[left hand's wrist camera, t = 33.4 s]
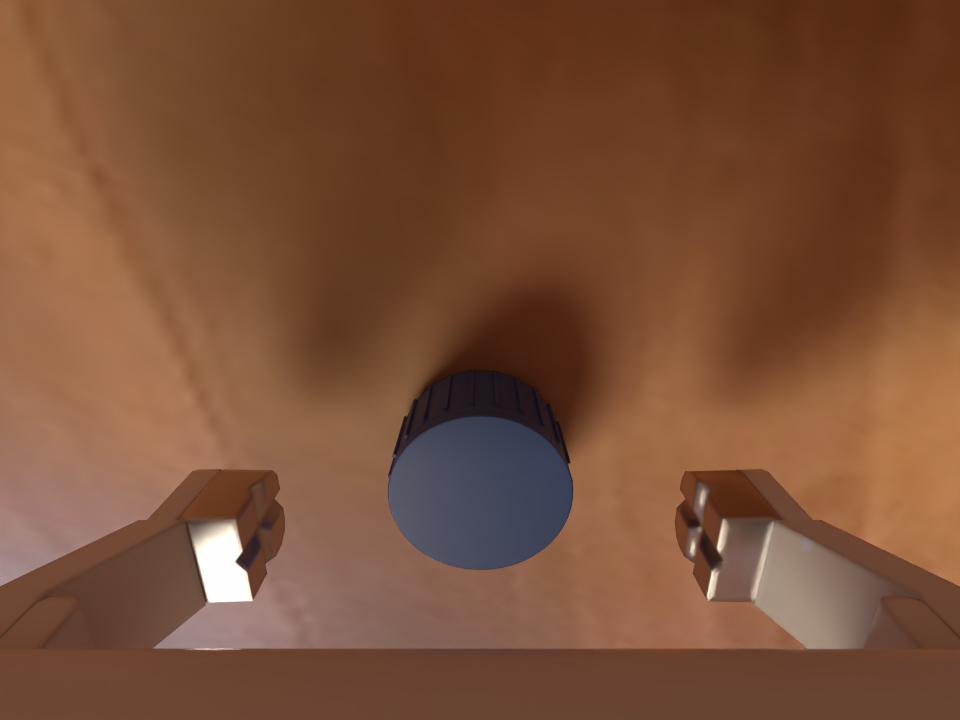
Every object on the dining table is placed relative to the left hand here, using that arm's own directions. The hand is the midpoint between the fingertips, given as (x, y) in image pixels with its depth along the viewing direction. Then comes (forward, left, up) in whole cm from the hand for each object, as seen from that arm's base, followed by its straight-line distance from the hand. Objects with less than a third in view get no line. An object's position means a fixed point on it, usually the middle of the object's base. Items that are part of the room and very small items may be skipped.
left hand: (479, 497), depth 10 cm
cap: (0, 0, 0) cm, 0 cm away
